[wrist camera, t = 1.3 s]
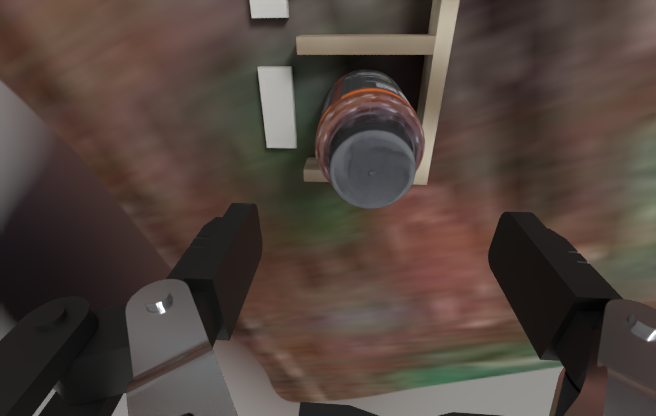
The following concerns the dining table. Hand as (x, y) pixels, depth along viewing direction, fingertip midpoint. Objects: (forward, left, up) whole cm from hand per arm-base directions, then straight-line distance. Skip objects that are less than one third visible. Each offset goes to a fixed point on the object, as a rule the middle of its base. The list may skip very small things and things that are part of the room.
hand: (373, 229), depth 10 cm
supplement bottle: (0, 0, -16) cm, 16 cm away
